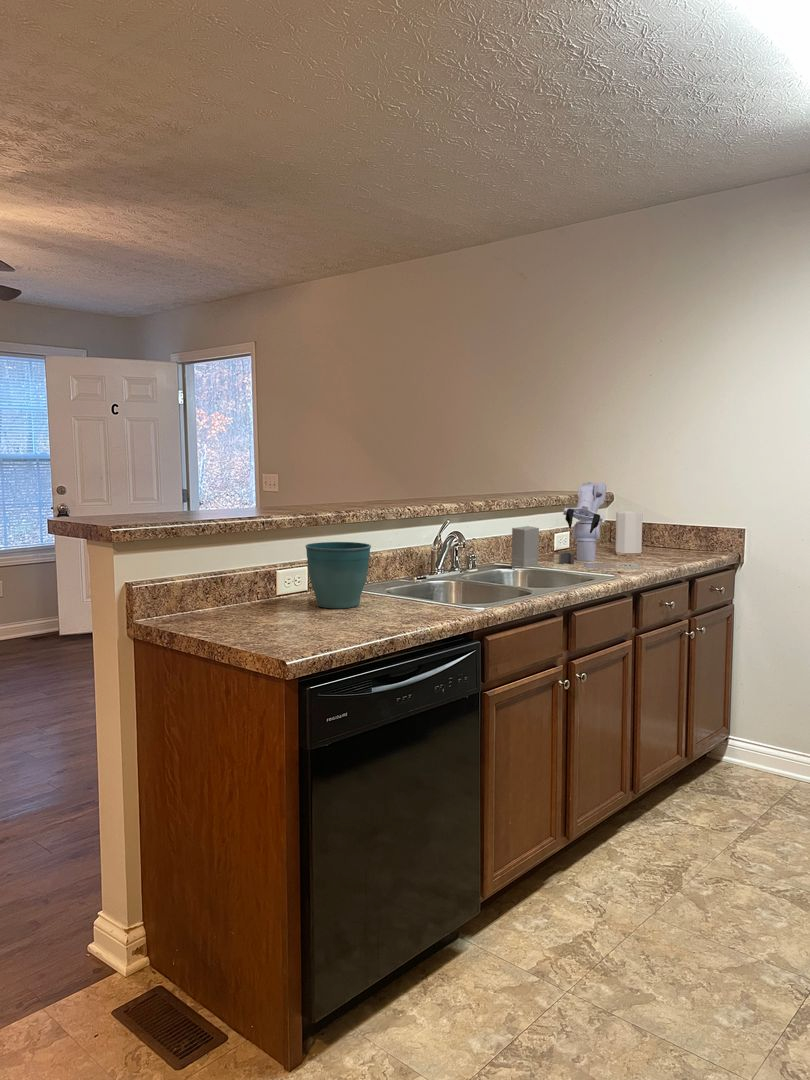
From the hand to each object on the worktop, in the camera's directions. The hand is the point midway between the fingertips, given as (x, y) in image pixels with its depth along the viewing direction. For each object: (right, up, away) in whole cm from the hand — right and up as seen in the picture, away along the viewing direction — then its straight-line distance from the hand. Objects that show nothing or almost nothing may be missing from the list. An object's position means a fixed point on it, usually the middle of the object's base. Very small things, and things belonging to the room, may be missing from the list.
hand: (580, 528), depth 296 cm
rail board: (+12, -15, +2) cm, 19 cm away
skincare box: (-20, -15, +3) cm, 26 cm away
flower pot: (-83, -23, -72) cm, 112 cm away
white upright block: (+31, -11, +49) cm, 59 cm away
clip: (-4, -13, +8) cm, 16 cm away
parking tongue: (-4, -15, +8) cm, 17 cm away
